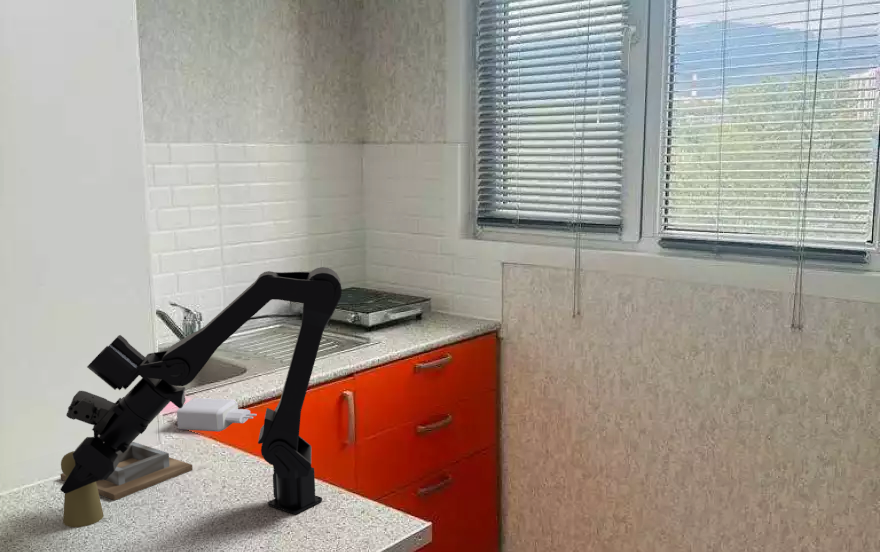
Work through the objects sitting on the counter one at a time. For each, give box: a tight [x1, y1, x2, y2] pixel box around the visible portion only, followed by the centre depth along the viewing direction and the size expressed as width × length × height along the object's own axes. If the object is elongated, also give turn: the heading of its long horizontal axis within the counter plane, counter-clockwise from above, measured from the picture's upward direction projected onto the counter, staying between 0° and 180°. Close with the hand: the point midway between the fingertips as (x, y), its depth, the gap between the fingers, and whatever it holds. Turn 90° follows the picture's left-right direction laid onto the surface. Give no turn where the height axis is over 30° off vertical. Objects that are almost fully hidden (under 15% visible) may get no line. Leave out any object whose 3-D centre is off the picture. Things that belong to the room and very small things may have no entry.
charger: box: [176, 397, 257, 433], centre depth 183 cm, size 5×9×15 cm
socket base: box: [60, 441, 193, 501], centre depth 157 cm, size 16×16×4 cm
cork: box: [60, 450, 105, 528], centre depth 138 cm, size 6×6×11 cm
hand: (70, 479), depth 138 cm, fingers open, 9 cm apart
